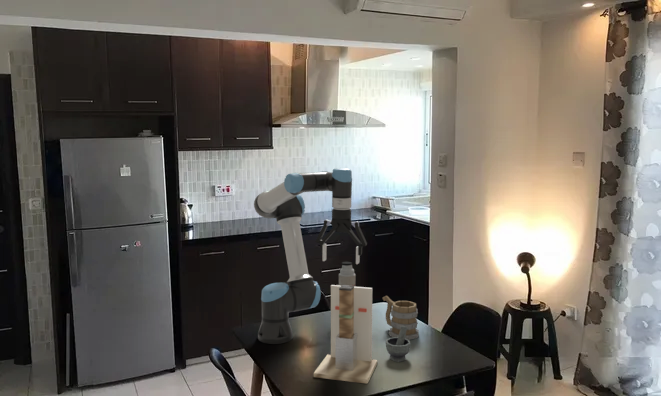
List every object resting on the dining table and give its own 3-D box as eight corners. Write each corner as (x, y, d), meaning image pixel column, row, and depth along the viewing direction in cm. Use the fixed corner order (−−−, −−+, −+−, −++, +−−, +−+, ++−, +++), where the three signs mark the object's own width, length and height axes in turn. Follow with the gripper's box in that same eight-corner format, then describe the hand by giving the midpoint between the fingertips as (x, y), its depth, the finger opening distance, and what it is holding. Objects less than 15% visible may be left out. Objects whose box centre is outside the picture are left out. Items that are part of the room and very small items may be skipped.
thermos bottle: (358, 318, 263) (358, 261, 260) (350, 323, 256) (350, 265, 253) (344, 316, 267) (344, 259, 264) (335, 320, 260) (335, 263, 257)
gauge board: (330, 357, 212) (330, 286, 209) (331, 355, 214) (331, 284, 211) (370, 362, 208) (371, 289, 205) (371, 360, 210) (372, 287, 207)
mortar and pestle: (402, 365, 208) (402, 335, 207) (381, 359, 214) (381, 330, 213) (415, 356, 218) (416, 326, 216) (395, 350, 223) (395, 322, 222)
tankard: (424, 336, 240) (425, 302, 238) (402, 342, 233) (403, 307, 231) (394, 323, 256) (394, 292, 255) (373, 328, 249) (373, 296, 248)
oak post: (338, 351, 202) (338, 287, 199) (342, 346, 206) (342, 284, 204) (350, 352, 200) (351, 288, 198) (353, 348, 205) (354, 285, 202)
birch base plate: (313, 376, 198) (313, 373, 198) (327, 358, 215) (327, 354, 215) (367, 383, 193) (367, 379, 193) (377, 363, 210) (377, 360, 210)
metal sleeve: (335, 368, 202) (335, 337, 200) (340, 361, 208) (340, 331, 207) (352, 370, 200) (353, 339, 199) (356, 363, 206) (357, 333, 205)
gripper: (308, 207, 212) (307, 261, 214) (370, 211, 204) (369, 266, 207) (314, 205, 219) (314, 257, 221) (375, 208, 211) (374, 262, 214)
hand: (340, 261), depth 214 cm, fingers open, 13 cm apart
